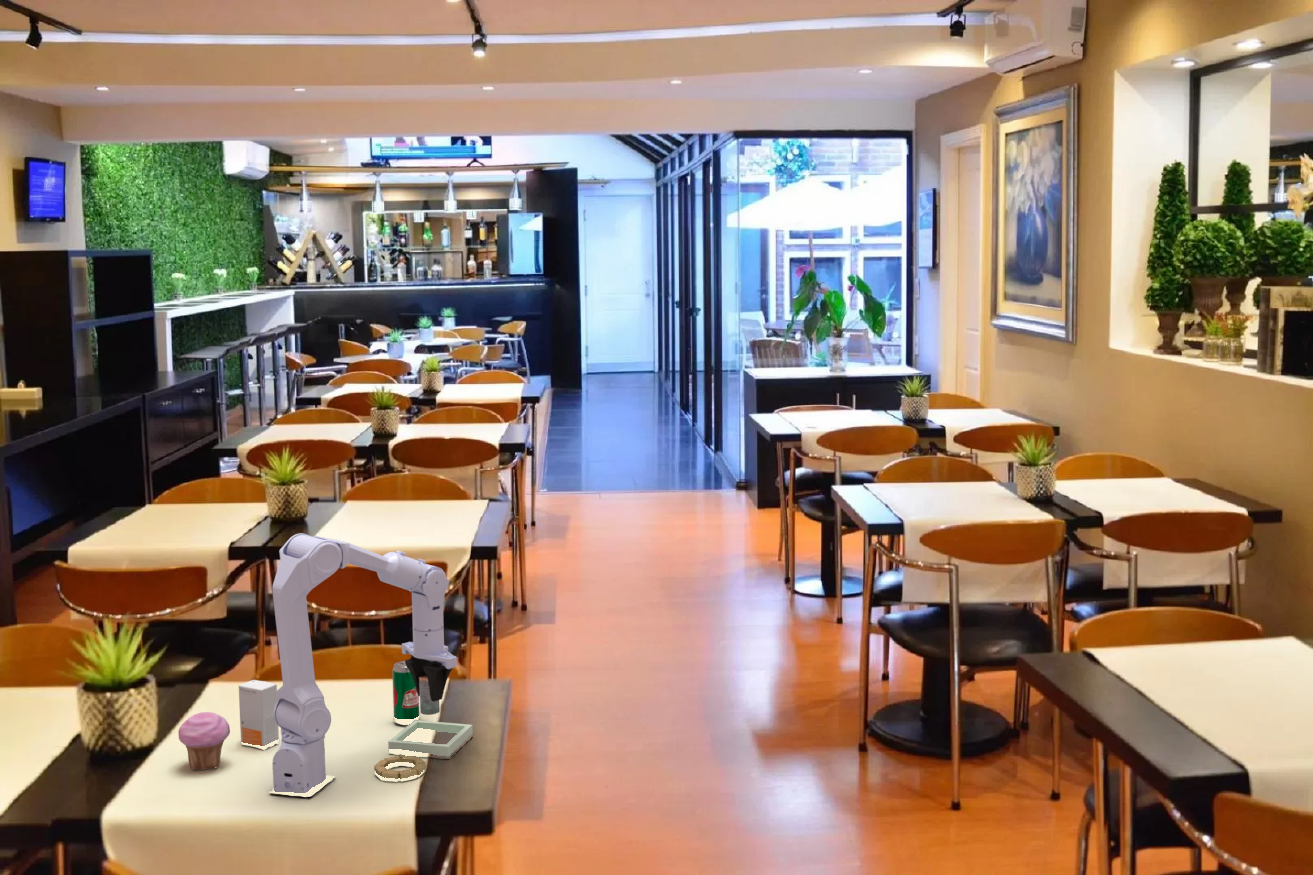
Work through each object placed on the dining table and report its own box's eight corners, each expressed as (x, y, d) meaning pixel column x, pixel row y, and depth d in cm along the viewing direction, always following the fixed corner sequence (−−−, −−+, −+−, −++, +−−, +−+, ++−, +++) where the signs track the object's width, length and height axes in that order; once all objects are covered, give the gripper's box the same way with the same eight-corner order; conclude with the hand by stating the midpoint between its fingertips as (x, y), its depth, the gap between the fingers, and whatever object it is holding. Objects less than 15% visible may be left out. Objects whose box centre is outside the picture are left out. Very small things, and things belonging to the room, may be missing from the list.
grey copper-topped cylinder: (443, 710, 252) (442, 675, 251) (429, 715, 250) (427, 679, 249) (431, 707, 255) (429, 671, 254) (416, 712, 252) (414, 676, 251)
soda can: (405, 728, 263) (404, 669, 261) (388, 723, 266) (386, 664, 264) (425, 721, 267) (423, 663, 265) (407, 716, 270) (406, 658, 268)
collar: (412, 784, 234) (412, 775, 234) (367, 779, 237) (367, 771, 236) (432, 766, 243) (431, 757, 243) (388, 762, 245) (388, 753, 245)
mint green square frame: (448, 759, 246) (448, 746, 246) (388, 754, 249) (388, 741, 248) (472, 737, 257) (472, 724, 257) (415, 732, 260) (414, 719, 260)
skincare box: (240, 745, 253) (237, 685, 252) (256, 738, 257) (253, 678, 256) (264, 751, 251) (261, 689, 249) (280, 743, 254) (277, 683, 253)
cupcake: (178, 777, 238) (175, 723, 237) (182, 760, 246) (179, 708, 245) (230, 772, 240) (228, 718, 239) (232, 755, 249) (230, 703, 247)
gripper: (469, 630, 248) (470, 700, 250) (422, 616, 258) (424, 684, 260) (438, 638, 243) (440, 710, 245) (391, 623, 253) (394, 692, 255)
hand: (430, 697), depth 252 cm, fingers closed on grey copper-topped cylinder, 4 cm apart
